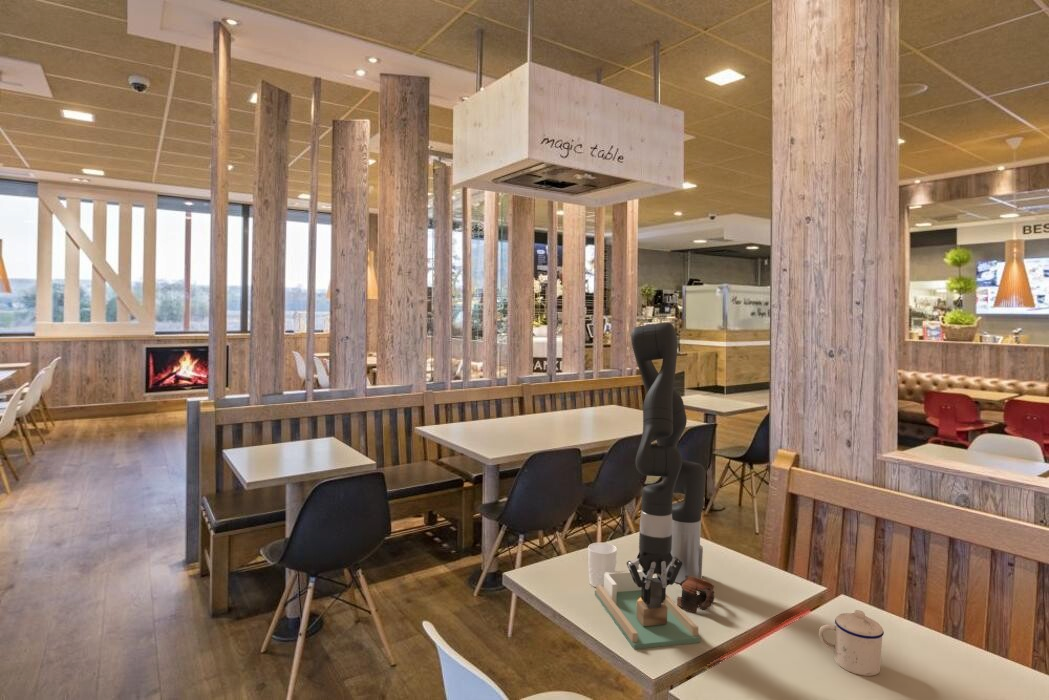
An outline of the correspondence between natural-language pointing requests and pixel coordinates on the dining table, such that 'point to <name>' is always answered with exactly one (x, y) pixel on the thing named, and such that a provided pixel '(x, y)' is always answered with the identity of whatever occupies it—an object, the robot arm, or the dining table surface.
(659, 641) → the pitch
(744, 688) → the dining table surface
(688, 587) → the pottery mug
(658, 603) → the striker
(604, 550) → the white cup
